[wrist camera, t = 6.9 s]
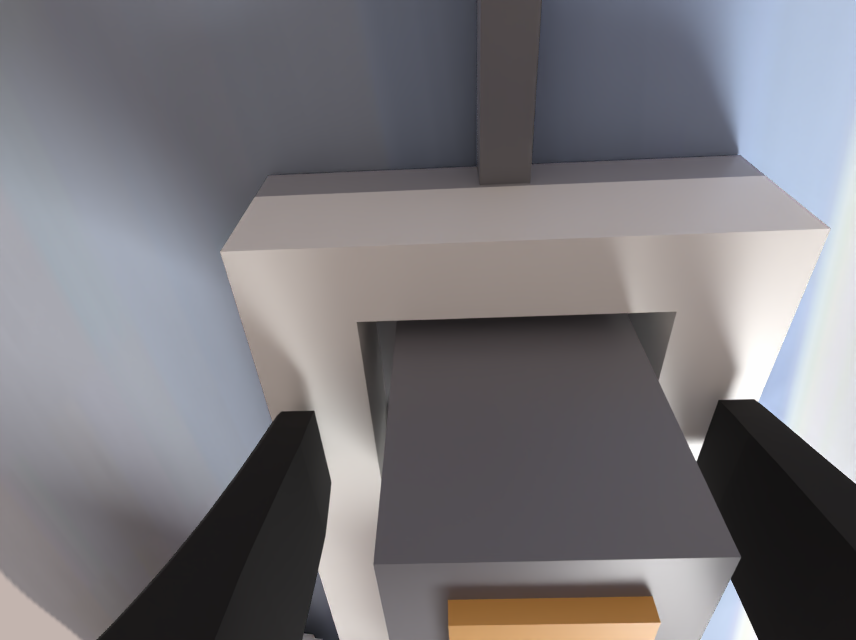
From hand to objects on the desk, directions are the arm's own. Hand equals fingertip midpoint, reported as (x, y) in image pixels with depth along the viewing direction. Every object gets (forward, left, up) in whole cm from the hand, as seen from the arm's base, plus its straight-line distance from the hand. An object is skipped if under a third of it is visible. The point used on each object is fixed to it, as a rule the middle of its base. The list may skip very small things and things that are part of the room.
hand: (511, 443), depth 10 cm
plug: (0, 0, -2) cm, 2 cm away
